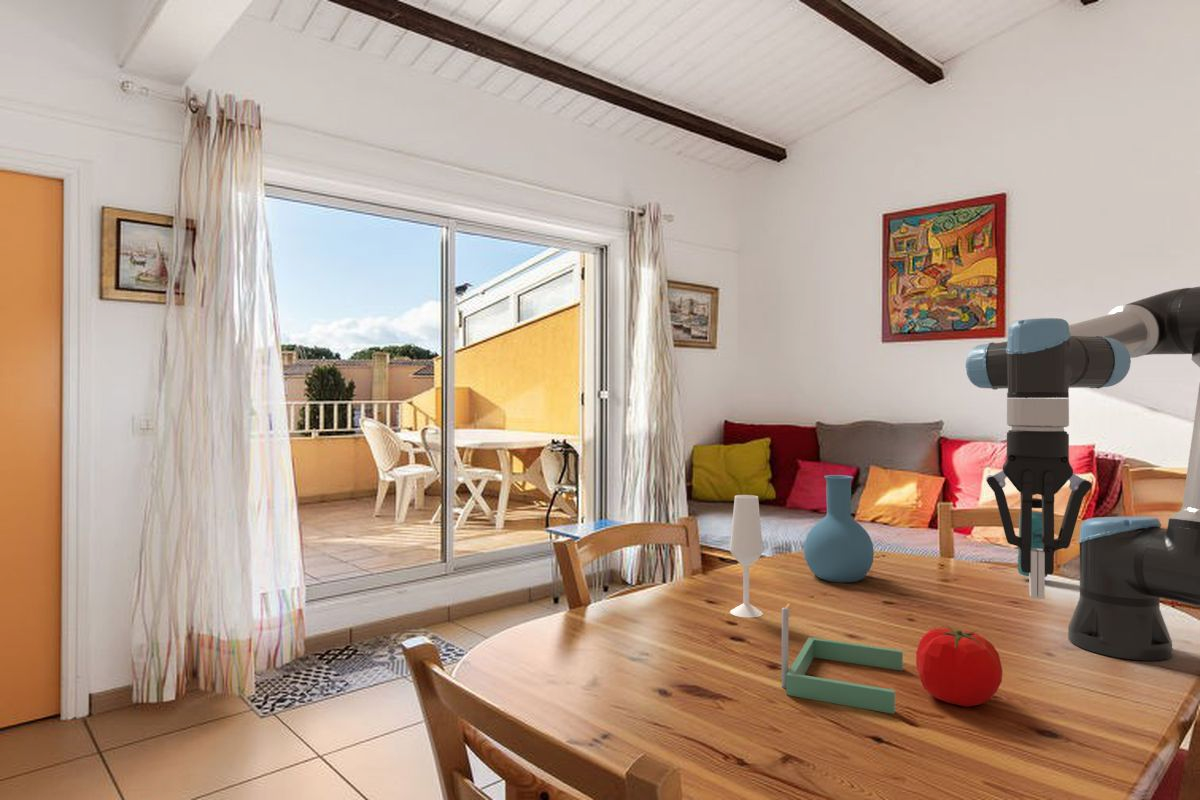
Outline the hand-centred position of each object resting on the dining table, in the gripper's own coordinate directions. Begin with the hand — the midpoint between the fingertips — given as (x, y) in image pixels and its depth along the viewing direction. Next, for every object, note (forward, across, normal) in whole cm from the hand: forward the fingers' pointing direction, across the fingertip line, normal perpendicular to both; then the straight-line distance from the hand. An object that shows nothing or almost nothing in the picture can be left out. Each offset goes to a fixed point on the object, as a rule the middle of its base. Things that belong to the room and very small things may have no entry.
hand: (1036, 596), depth 103 cm
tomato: (+17, +10, 0) cm, 19 cm away
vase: (+17, +36, -68) cm, 79 cm away
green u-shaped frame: (+16, +26, 0) cm, 31 cm away
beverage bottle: (+17, -7, -86) cm, 88 cm away
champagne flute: (+17, +49, -29) cm, 59 cm away
